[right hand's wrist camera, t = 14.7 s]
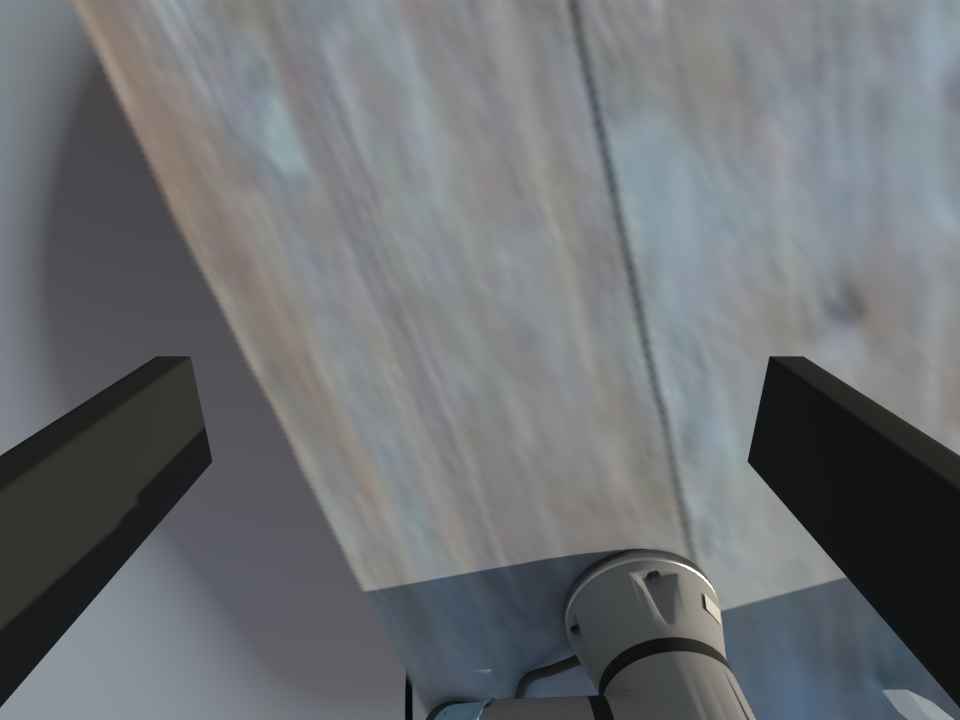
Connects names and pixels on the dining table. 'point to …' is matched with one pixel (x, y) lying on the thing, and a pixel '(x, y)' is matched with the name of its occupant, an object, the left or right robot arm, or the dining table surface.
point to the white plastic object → (915, 706)
